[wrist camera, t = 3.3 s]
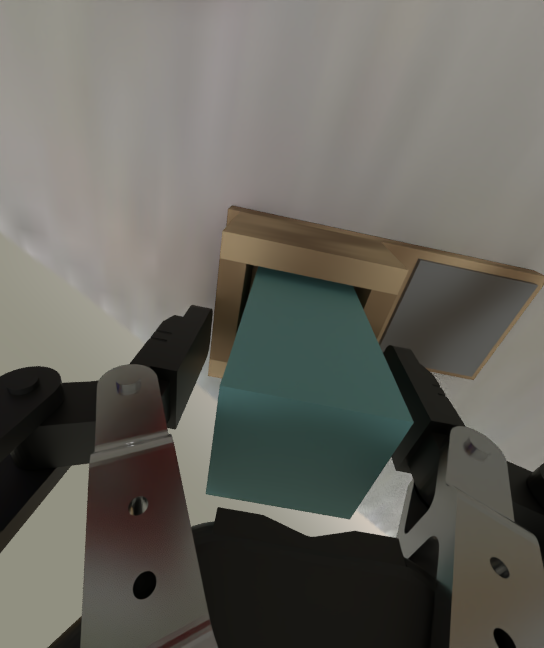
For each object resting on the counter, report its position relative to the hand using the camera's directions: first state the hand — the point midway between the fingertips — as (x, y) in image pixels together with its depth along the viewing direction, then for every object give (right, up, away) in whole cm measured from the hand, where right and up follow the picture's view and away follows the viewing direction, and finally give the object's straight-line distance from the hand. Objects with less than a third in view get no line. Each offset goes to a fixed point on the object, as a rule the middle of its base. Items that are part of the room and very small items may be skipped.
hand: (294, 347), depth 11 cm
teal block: (0, +3, +5) cm, 5 cm away
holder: (+4, +2, +6) cm, 7 cm away
